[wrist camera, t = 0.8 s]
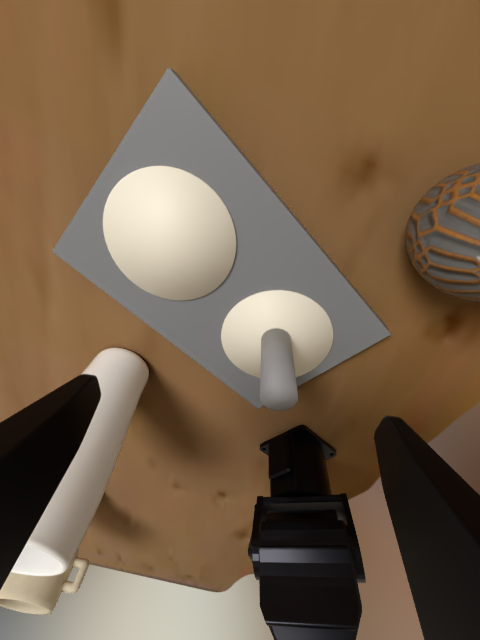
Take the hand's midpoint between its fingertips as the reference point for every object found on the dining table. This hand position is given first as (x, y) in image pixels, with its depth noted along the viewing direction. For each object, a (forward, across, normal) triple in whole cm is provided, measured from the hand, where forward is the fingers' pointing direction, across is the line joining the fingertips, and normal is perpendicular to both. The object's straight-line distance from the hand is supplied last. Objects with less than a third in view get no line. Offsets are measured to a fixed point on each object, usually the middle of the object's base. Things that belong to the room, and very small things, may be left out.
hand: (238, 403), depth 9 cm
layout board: (+14, +2, +3) cm, 14 cm away
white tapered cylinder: (+14, +11, +13) cm, 22 cm away
